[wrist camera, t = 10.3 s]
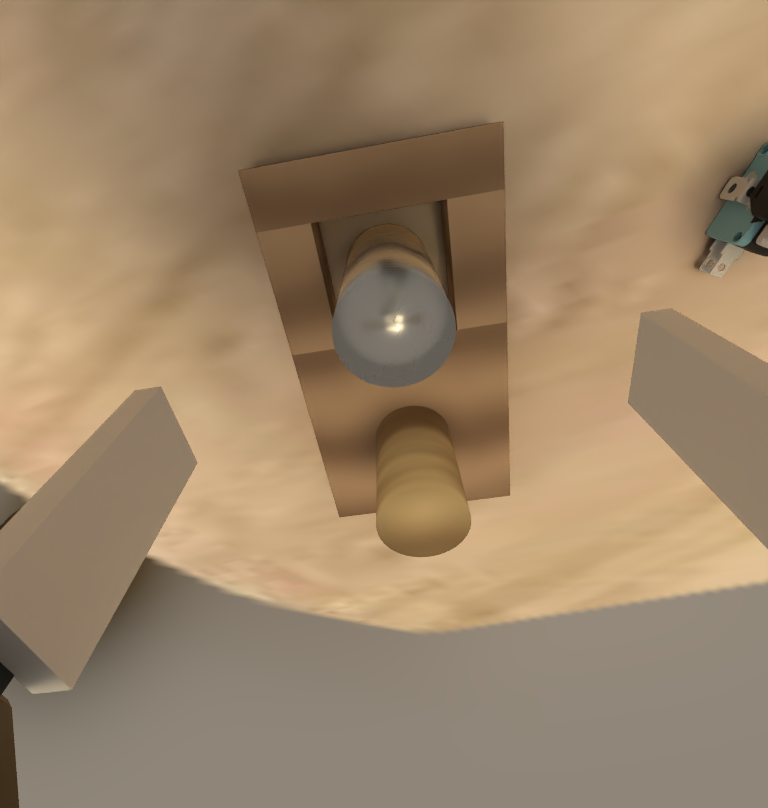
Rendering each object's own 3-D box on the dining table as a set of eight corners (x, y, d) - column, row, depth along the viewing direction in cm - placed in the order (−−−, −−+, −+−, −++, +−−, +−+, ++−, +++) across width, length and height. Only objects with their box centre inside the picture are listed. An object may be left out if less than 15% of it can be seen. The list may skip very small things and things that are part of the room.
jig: (252, 168, 22) (174, 184, 14) (490, 123, 21) (565, 111, 13) (341, 492, 33) (330, 613, 25) (500, 471, 33) (545, 588, 24)
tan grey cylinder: (339, 231, 24) (319, 282, 15) (423, 217, 24) (450, 260, 15) (355, 312, 26) (345, 395, 18) (432, 300, 26) (460, 378, 17)
